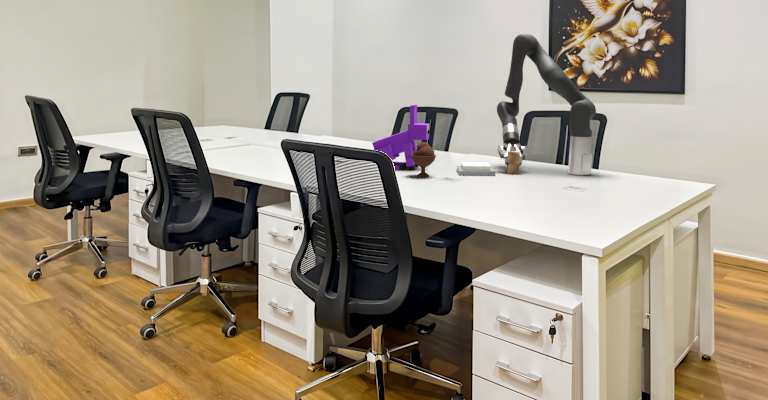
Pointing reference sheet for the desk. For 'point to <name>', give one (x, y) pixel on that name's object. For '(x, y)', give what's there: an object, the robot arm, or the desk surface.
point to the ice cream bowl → (423, 157)
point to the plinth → (476, 173)
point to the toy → (404, 141)
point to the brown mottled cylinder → (513, 162)
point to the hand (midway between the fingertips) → (513, 164)
